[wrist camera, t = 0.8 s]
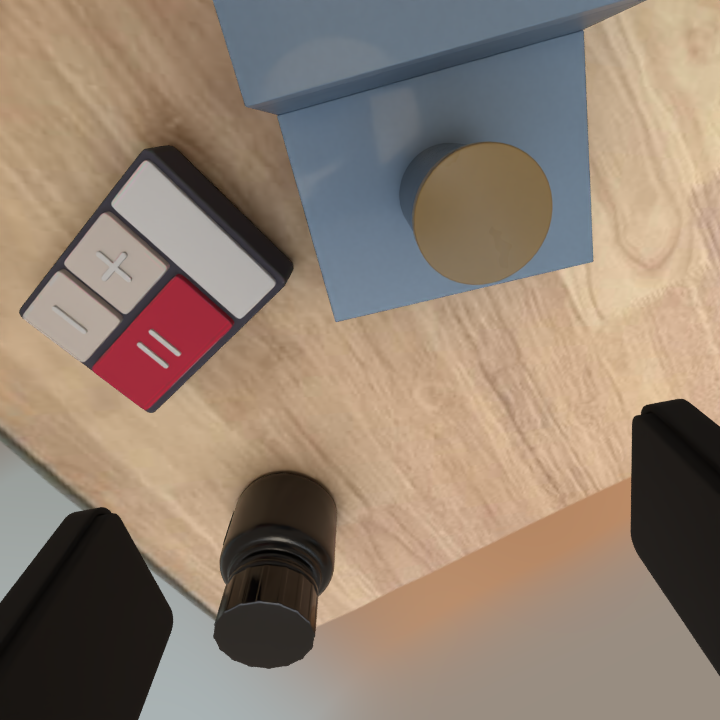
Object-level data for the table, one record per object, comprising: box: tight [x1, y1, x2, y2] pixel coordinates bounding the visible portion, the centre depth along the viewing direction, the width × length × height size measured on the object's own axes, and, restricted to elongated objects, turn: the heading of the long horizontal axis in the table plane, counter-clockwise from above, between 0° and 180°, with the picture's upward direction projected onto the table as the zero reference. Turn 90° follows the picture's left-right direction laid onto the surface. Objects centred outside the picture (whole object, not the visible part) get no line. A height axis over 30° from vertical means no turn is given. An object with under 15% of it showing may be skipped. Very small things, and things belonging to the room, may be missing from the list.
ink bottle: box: [213, 473, 337, 669], centre depth 38 cm, size 10×9×12 cm
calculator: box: [19, 145, 293, 413], centre depth 33 cm, size 11×4×15 cm
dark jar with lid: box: [399, 142, 553, 285], centre depth 23 cm, size 6×6×9 cm
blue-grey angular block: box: [213, 0, 646, 322], centre depth 24 cm, size 22×16×13 cm
